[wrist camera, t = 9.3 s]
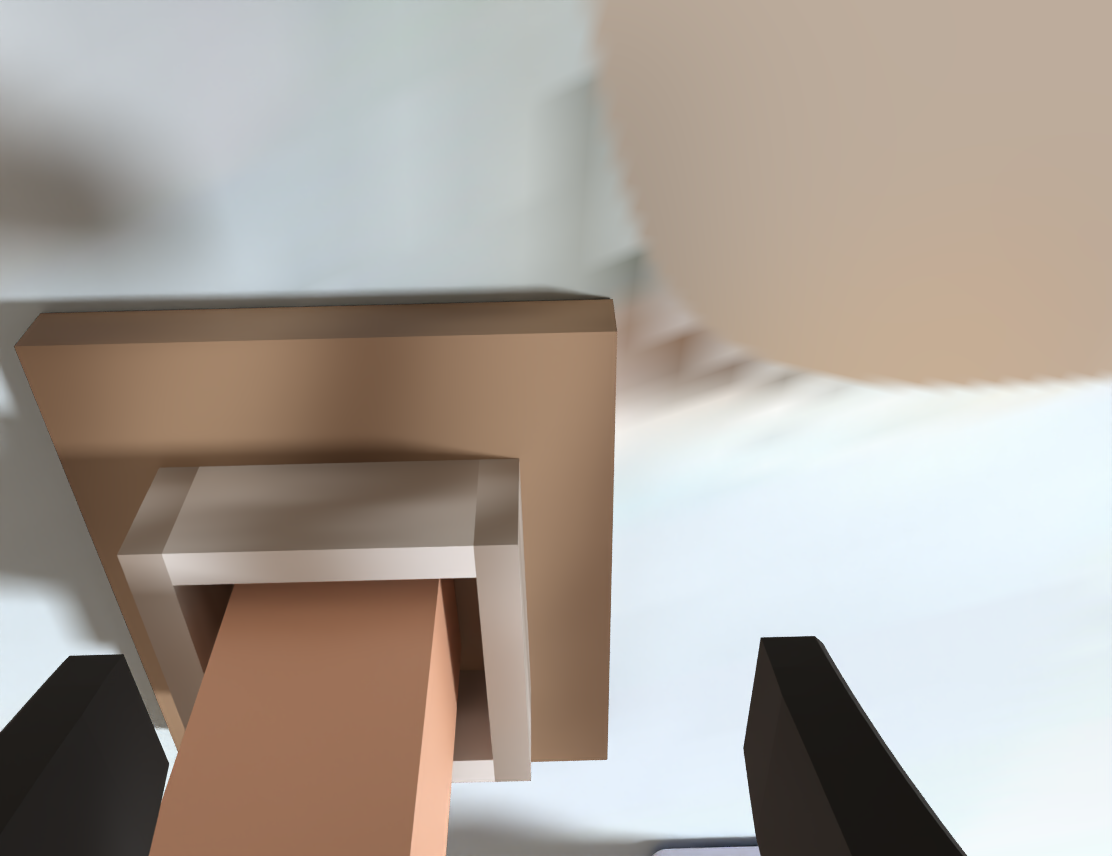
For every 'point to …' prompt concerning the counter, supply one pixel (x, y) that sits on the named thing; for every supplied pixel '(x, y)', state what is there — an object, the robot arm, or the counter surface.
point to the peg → (321, 725)
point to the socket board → (357, 486)
